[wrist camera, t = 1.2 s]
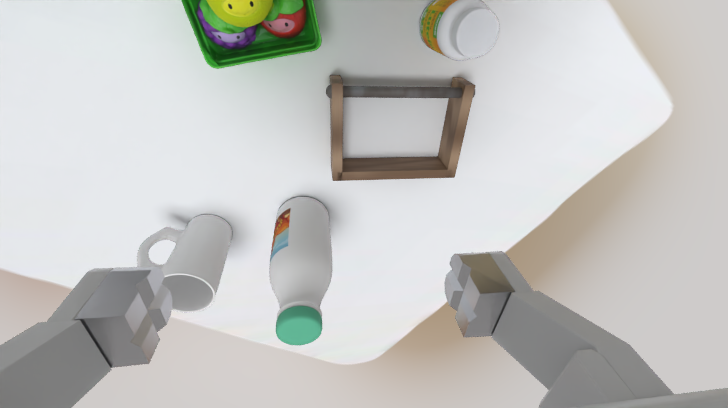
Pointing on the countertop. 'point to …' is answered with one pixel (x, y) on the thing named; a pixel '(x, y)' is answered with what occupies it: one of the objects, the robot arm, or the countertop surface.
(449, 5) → the supplement bottle
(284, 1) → the fruit basket
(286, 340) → the milk bottle
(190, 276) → the mug
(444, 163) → the wooden bar rack
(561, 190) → the countertop surface
